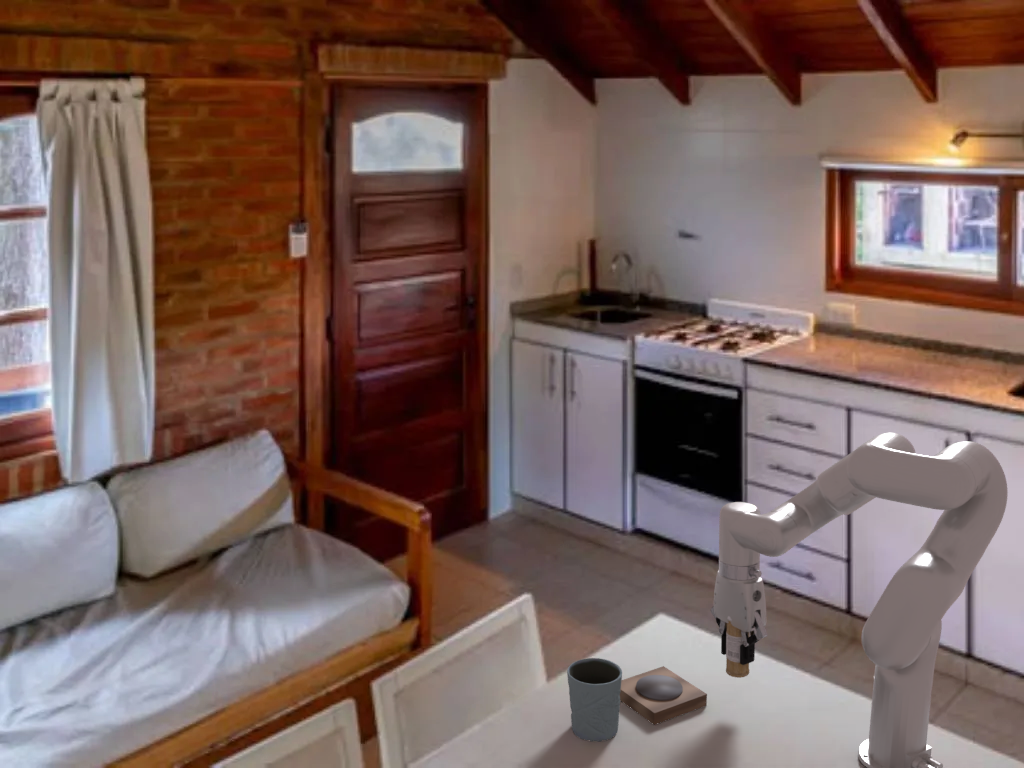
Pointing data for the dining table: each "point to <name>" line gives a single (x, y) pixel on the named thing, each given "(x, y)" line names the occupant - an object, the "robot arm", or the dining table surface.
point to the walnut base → (661, 695)
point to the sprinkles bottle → (734, 652)
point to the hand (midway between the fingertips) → (737, 656)
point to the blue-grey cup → (594, 698)
